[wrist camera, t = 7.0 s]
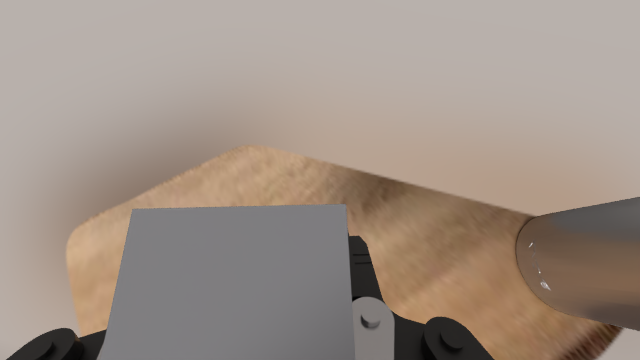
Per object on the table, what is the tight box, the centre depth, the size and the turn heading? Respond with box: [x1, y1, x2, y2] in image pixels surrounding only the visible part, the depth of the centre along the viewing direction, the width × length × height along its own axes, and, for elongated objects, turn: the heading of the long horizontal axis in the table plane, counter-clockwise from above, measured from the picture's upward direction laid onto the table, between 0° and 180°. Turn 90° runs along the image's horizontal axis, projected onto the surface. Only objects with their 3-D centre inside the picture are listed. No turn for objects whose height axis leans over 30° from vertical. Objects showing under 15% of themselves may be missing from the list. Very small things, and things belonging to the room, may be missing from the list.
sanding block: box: [100, 204, 356, 360], centre depth 9 cm, size 5×5×10 cm
